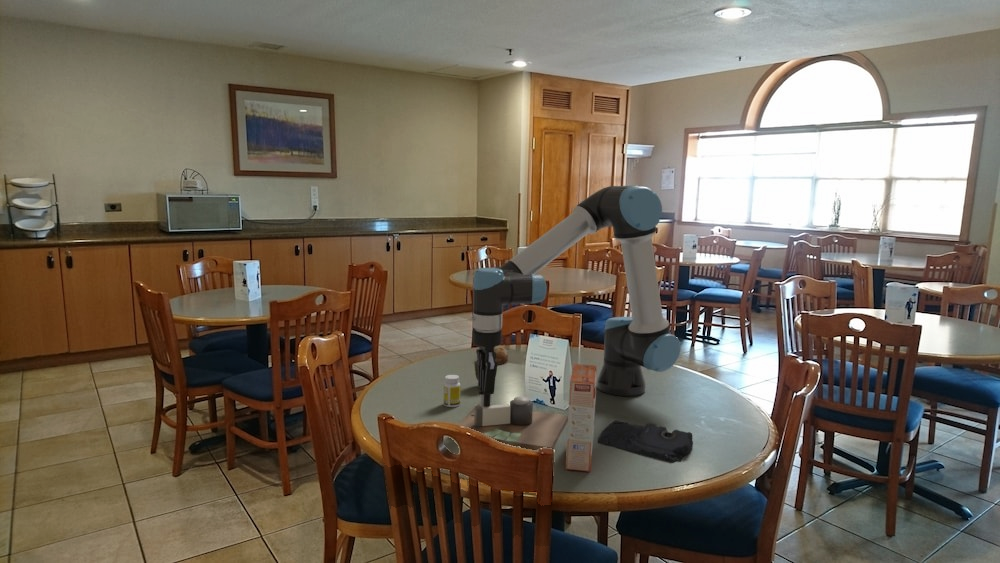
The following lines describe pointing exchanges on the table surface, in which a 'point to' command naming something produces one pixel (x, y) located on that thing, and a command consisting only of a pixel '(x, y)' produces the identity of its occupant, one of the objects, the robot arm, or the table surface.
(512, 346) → the table surface
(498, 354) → the bread roll
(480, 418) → the peg dial
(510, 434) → the brown flat panel
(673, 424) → the table surface
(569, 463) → the cracker box
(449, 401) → the supplement bottle
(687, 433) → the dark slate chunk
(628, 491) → the table surface
